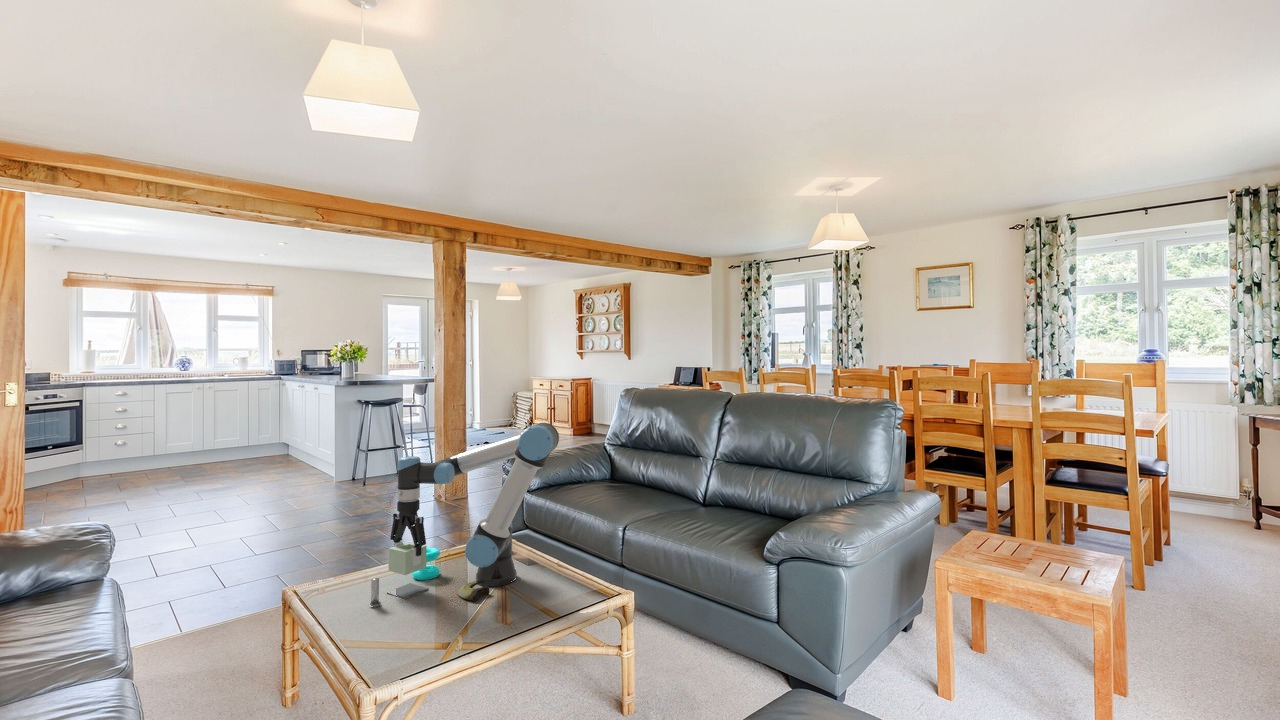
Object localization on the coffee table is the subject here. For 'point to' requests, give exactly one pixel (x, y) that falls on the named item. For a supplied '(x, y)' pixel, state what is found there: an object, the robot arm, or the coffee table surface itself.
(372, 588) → the post stand
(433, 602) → the coffee table surface
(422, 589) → the mat
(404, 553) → the sage cube with slot
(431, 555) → the donuts
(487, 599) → the coffee table surface
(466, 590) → the claw
